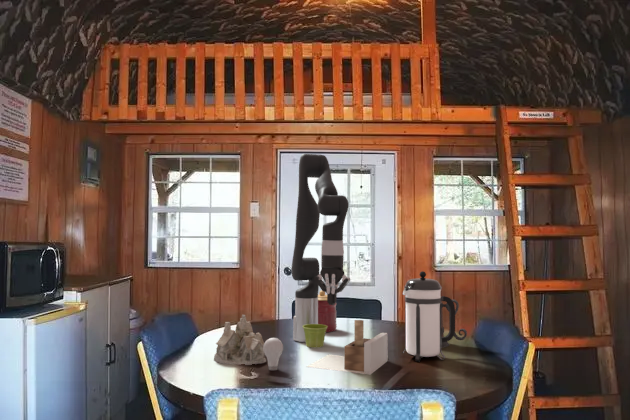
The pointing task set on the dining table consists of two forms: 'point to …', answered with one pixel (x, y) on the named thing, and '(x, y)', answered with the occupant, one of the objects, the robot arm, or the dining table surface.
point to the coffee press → (425, 317)
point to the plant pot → (314, 335)
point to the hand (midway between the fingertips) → (331, 304)
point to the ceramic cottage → (240, 345)
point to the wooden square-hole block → (354, 357)
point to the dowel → (358, 333)
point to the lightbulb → (273, 352)
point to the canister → (326, 312)
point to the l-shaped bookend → (372, 357)
